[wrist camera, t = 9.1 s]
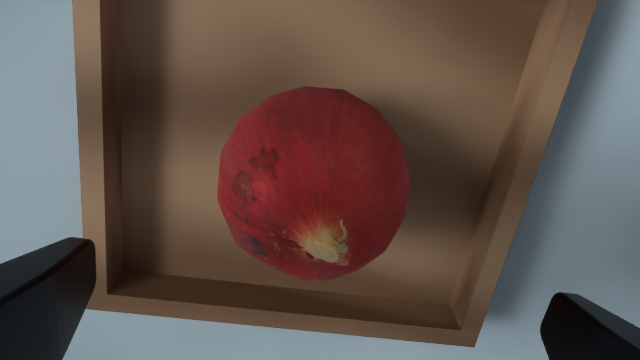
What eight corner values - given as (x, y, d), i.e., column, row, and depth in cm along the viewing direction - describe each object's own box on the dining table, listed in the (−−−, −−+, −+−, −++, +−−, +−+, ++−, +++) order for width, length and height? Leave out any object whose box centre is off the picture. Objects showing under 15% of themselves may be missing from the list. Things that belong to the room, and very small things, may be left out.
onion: (263, 229, 19) (241, 382, 12) (210, 96, 17) (141, 180, 9) (400, 188, 19) (468, 320, 11) (363, 47, 16) (418, 94, 9)
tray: (456, 309, 22) (474, 347, 20) (110, 272, 20) (86, 308, 18) (567, -33, 16) (610, -37, 14) (102, -117, 15) (66, -137, 13)
